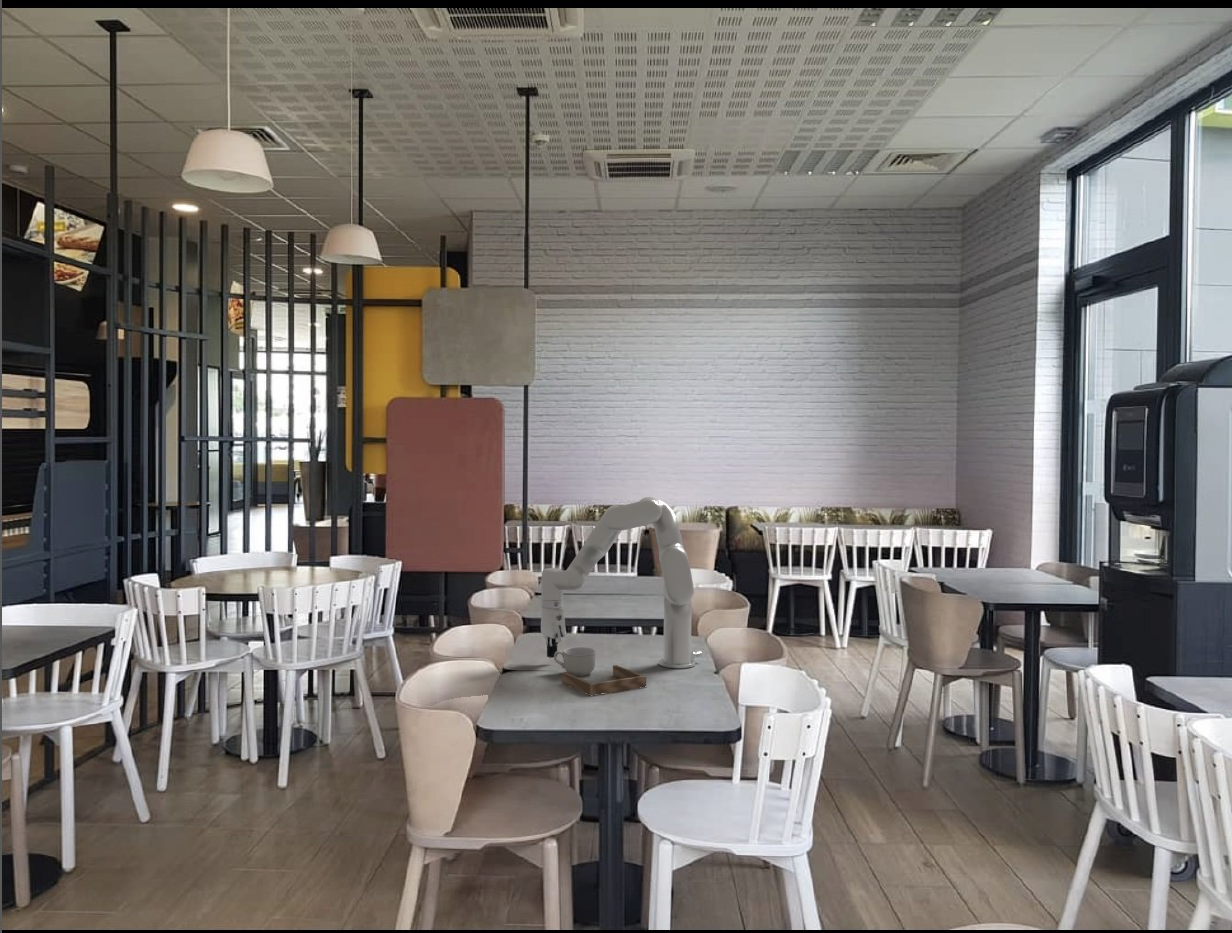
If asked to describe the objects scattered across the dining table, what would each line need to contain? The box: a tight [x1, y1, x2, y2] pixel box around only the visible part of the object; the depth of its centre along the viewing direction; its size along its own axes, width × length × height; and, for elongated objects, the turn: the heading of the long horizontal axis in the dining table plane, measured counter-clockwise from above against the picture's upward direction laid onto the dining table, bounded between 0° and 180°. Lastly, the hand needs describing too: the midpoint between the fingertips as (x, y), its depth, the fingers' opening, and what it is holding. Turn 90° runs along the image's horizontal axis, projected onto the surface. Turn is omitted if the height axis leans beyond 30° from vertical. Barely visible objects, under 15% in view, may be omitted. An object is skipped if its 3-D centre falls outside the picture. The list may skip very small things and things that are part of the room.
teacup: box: [553, 646, 597, 677], centre depth 324 cm, size 14×11×8 cm
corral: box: [561, 664, 647, 696], centre depth 309 cm, size 20×18×4 cm
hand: (552, 656), depth 338 cm, fingers closed
